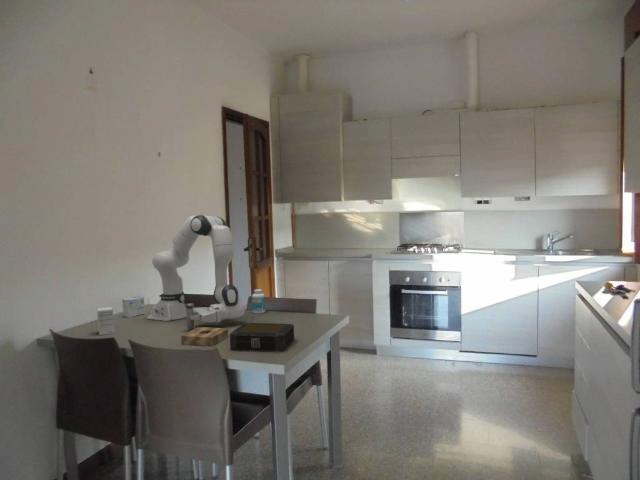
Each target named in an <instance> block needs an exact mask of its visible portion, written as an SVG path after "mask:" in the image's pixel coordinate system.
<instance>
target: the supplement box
mask: <svg viewBox="0 0 640 480" xmlns="http://www.w3.org/2000/svg"><path fill="white" fill-rule="evenodd" d="M96 310H97V311H96V313H97V314H96V315H97V325H98V335H99V336H102V335H112V334H115V323H114V321H115V320H114V310H113V306H106V307H99V308H97V309H96Z"/></svg>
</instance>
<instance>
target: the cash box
mask: <svg viewBox="0 0 640 480" xmlns="http://www.w3.org/2000/svg"><path fill="white" fill-rule="evenodd" d="M294 340H295V325H294V324H293V323H273V322H272V323H271V322H270V323H269V322H268V323H267V322H265V323H264V322H245V323H243V324H242V325H239V327H237V328H236V329H234V330H233V331H231V332H230V333H229V344H230V350H231V349H232V351H249V350H256V351H257V352H276V351H281V352H284V351H285V350H286V349H287V348H288V347H289V346H290V345H291V344H292V343H293V342H294ZM256 351H255V352H256Z"/></svg>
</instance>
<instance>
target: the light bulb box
mask: <svg viewBox="0 0 640 480" xmlns="http://www.w3.org/2000/svg"><path fill="white" fill-rule="evenodd" d="M121 300H122V311H123V312H122V315H123V317H124V316H126V317H125V318H127V317H132V316H136V315H140V314H144V315H146V309H145V296H140V295H136V296H132V297H126V298H122V299H121ZM140 316H141V315H140ZM136 317H137V316H136ZM132 318H133V317H132Z"/></svg>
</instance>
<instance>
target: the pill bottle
mask: <svg viewBox="0 0 640 480" xmlns="http://www.w3.org/2000/svg"><path fill="white" fill-rule="evenodd" d="M265 297H266V296H265V294H264V293H263V289H259V288H258V289H254V290H253V294H252V295H251V301H252V303H251V304H252V313H253V314H255V315H257V314H264V313H265V312H266V298H265Z"/></svg>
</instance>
